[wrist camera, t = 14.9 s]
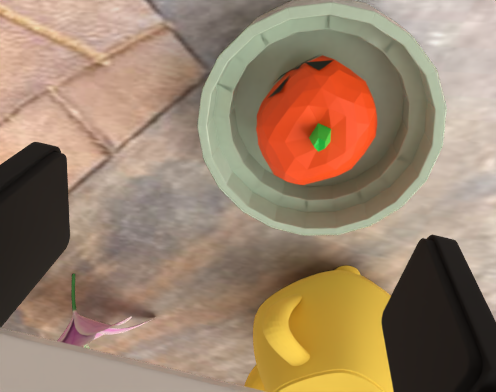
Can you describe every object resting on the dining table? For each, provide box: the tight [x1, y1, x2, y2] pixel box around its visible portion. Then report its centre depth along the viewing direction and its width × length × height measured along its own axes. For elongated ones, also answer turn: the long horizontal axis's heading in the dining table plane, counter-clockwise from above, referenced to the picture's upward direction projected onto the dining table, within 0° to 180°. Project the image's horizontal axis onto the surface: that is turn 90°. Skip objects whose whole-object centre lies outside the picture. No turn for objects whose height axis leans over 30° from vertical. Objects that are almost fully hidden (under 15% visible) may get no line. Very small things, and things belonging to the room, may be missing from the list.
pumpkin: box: [256, 54, 377, 185], centre depth 26 cm, size 7×8×6 cm
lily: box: [57, 274, 154, 349], centre depth 38 cm, size 12×12×10 cm
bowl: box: [197, 0, 447, 236], centre depth 27 cm, size 14×14×5 cm
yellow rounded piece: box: [245, 266, 394, 392], centre depth 33 cm, size 14×14×12 cm
